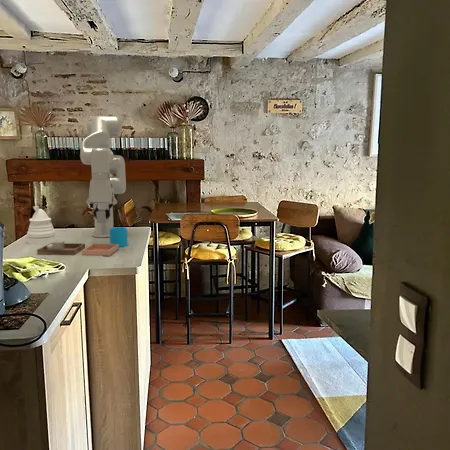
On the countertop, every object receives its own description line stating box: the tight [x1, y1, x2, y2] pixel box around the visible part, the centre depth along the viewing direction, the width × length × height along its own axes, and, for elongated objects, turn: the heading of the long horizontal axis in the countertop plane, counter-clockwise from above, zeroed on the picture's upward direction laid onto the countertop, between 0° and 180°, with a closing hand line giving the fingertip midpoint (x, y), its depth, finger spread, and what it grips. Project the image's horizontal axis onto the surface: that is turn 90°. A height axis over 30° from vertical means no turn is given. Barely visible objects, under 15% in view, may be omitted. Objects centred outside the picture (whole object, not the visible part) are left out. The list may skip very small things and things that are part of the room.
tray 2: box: [81, 243, 120, 257], centre depth 201 cm, size 14×12×2 cm
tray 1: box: [36, 242, 86, 256], centre depth 201 cm, size 14×16×2 cm
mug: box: [109, 226, 128, 248], centre depth 218 cm, size 12×8×8 cm
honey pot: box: [26, 205, 57, 245], centre depth 220 cm, size 13×13×18 cm
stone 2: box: [96, 210, 109, 223], centre depth 201 cm, size 4×4×5 cm
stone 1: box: [52, 240, 65, 250], centre depth 198 cm, size 4×4×5 cm
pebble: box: [47, 243, 53, 250], centre depth 201 cm, size 3×3×3 cm
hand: (102, 217), depth 201 cm, fingers closed on stone 2, 3 cm apart
